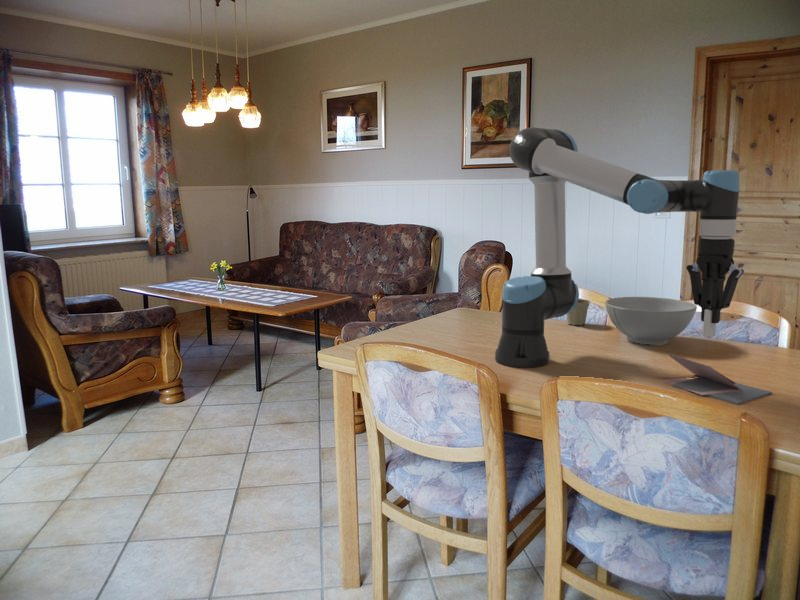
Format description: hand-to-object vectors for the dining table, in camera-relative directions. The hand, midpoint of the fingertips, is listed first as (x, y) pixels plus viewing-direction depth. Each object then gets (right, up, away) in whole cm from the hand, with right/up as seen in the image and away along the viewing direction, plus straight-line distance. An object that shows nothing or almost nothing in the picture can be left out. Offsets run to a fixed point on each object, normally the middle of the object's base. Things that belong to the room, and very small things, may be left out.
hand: (708, 335), depth 143 cm
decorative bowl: (+5, -5, +48) cm, 48 cm away
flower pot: (-10, 0, +73) cm, 74 cm away
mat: (+2, -13, -1) cm, 13 cm away
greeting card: (-4, -10, +9) cm, 14 cm away
